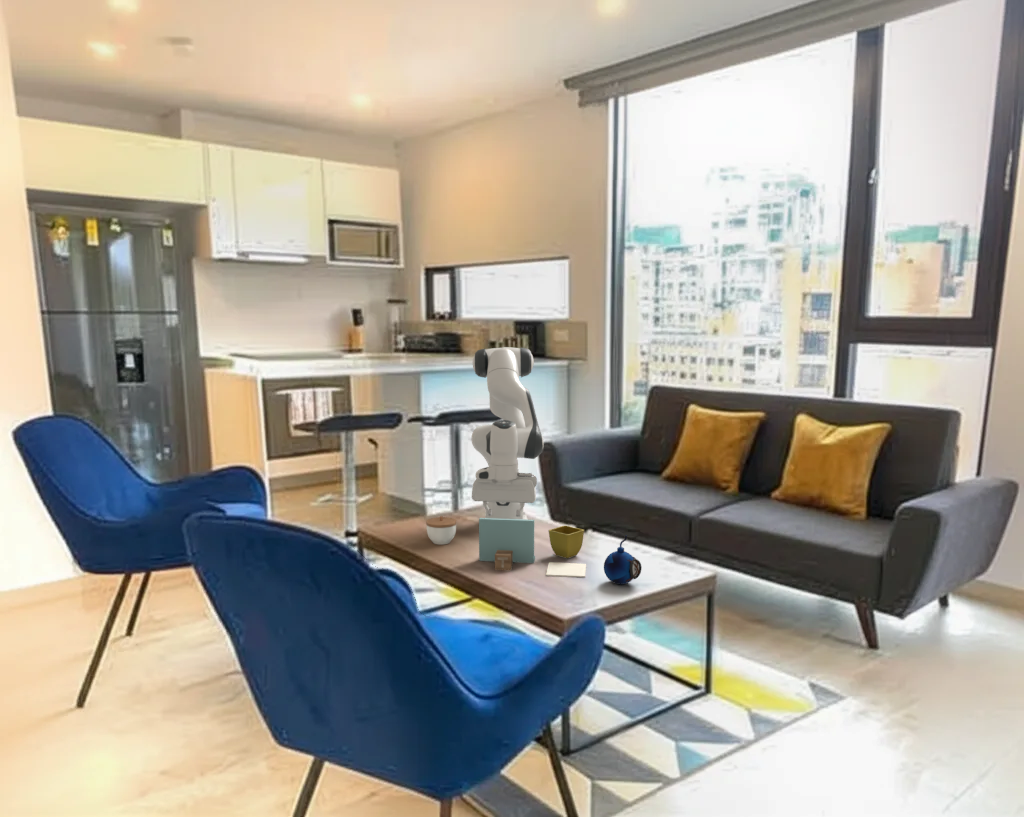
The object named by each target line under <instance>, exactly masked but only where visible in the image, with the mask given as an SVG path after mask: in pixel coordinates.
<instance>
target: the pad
mask: <svg viewBox="0 0 1024 817" xmlns="http://www.w3.org/2000/svg"><path fill="white" fill-rule="evenodd" d="M586 571H587V563H573V562H570V563H569V562H550V561H549V562H548V566H547V570H546V573H545V576H547V577H567V578H586V575H587V574H586V573H587V572H586Z"/></svg>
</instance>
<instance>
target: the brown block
mask: <svg viewBox="0 0 1024 817" xmlns="http://www.w3.org/2000/svg"><path fill="white" fill-rule="evenodd" d="M513 563H514V562H513V551H509V550H497V551H496V554H495V561H494V570H495V571H509V572H510V571H511V570H512V569H513Z"/></svg>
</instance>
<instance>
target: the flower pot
mask: <svg viewBox="0 0 1024 817" xmlns="http://www.w3.org/2000/svg"><path fill="white" fill-rule="evenodd" d="M584 534H585V529H582V528H578V527H574V526H571V525H562V526H558V527H555V528H551V529H548V536H549V543H550V546H551V549H552V551H553V553H554V554H555V556H556V557H560V558H564V559H570V558H573V557H576V556H577V555H578V554H579V553H580V550H581V549H582V546H583V541H584Z"/></svg>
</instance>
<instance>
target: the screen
mask: <svg viewBox="0 0 1024 817" xmlns="http://www.w3.org/2000/svg"><path fill="white" fill-rule="evenodd" d="M497 550H509V551H513V563H520V564H521V563H522V564H523V563H525V564H534V563H535V561H536V555H535V519H528V520H526V519H498V518H485V517H479V519H478V561H480V562H495V554H496V551H497Z"/></svg>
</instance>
